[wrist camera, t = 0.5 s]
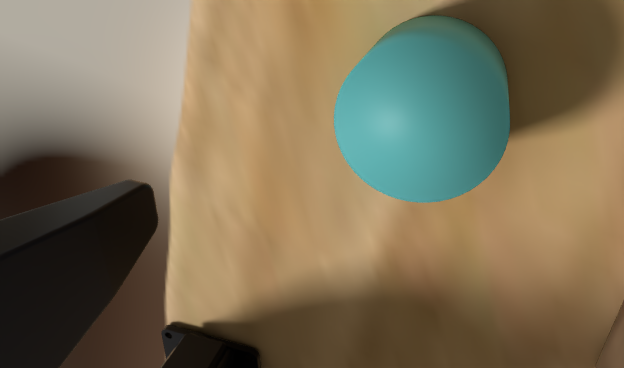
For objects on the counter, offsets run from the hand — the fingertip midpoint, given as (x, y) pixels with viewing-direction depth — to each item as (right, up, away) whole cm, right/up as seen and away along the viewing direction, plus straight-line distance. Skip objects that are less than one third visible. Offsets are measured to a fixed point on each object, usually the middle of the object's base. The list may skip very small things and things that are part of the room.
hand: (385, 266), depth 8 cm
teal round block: (+3, +5, +11) cm, 12 cm away
